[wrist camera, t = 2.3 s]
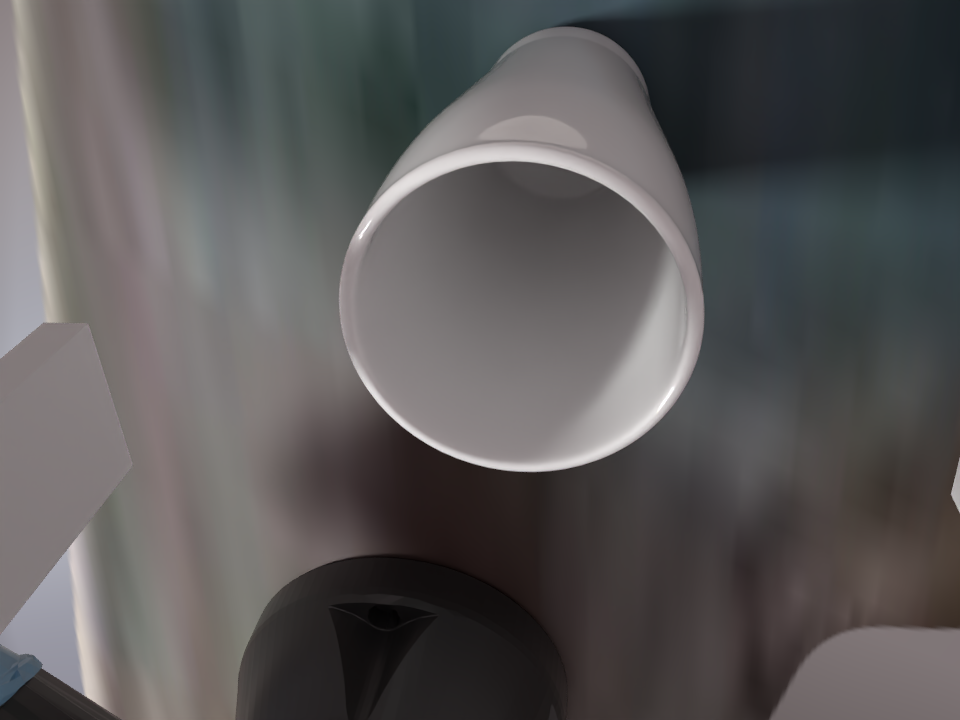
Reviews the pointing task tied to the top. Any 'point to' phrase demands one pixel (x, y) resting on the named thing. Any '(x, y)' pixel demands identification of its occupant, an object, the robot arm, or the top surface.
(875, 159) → the top surface
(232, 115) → the top surface
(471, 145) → the white cup
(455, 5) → the top surface
